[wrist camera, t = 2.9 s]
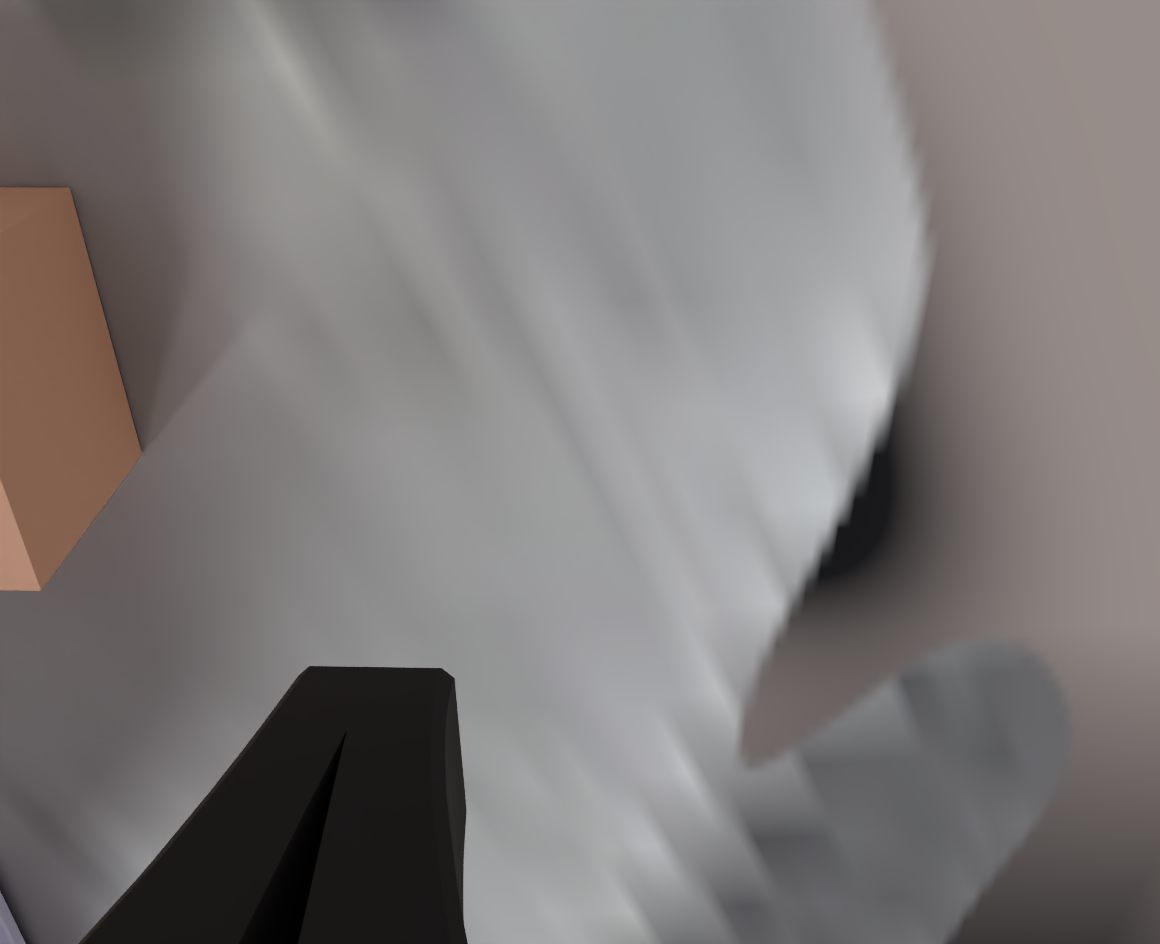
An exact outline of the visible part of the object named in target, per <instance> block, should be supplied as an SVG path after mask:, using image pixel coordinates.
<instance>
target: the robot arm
mask: <svg viewBox="0 0 1160 944" xmlns="http://www.w3.org/2000/svg"><path fill="white" fill-rule="evenodd" d="M465 824H466V800H465V789H464V778H463V767H462V756H461V745H460V735H459V724H458V713H457V702H456V691H455V680H454V678H453V677H452V676H451V675H450V674H448V673H447V672H446V671H444V670H443V669H442V668H391V667H326V666H309V667H308V668H307V669H306V670H304V671H303V672H302V673H301V674H300V675H299V676H298V677H297V679H296V680H295V681H294V683H293V684H292V685H291V687H290V688H289V689H288V691H287V692H286V693H285V695H284V696H283V698H282V699H281V700H280V702H279V703H278V704H277V706H276V707H275V708H274V710H273V711H272V712H271V714H270V715H269V716H268V718H267V719H266V720H265V722H264V723H263V724H262V726H261V727H260V728H259V730H258V731H257V732H256V734H255V735H254V736H253V737H252V739H251V740H250V741H249V743H248V744H247V745H246V747H245V748H244V749H243V751H242V752H241V753H240V754H239V756H238V757H237V758H236V759H235V761H234V762H233V763H232V765H231V766H230V767H229V768H228V770H227V771H226V772H225V773H224V775H223V776H222V777H221V779H220V780H219V781H218V782H217V784H216V785H215V786H214V787H213V789H212V790H211V791H210V792H209V794H208V795H207V796H206V797H205V798H204V800H203V801H202V802H201V803H200V805H199V806H198V807H197V808H196V809H195V811H194V812H193V813H192V814H191V815H190V817H189V818H188V819H187V820H186V821H185V823H184V824H183V825H182V826H181V827H180V829H179V830H178V831H177V832H176V833H175V835H174V836H173V837H172V838H171V840H170V841H169V842H168V843H167V844H166V846H165V847H164V848H163V849H162V850H161V852H160V853H159V854H158V855H157V856H156V858H155V859H154V860H153V861H152V862H151V864H150V865H149V866H148V867H147V868H146V869H145V870H144V872H143V873H142V874H141V875H140V876H139V877H138V879H137V880H136V881H135V882H134V883H133V884H132V885H131V886H130V887H129V889H128V890H127V891H126V892H125V893H124V894H123V895H122V896H121V897H120V899H119V900H118V901H117V902H116V903H115V904H114V905H113V906H112V907H111V908H110V910H109V911H108V912H107V913H106V914H105V915H104V916H103V917H102V918H101V919H100V921H99V922H98V923H97V924H96V925H95V926H94V927H93V928H92V929H91V931H90V932H89V933H88V934H87V935H86V936H85V937H84V938H83V939H82V940H81V942H80V943H79V944H468V943H467V938H466V933H465V928H464V920H463V859H464V839H465ZM0 944H26V943H25V941H24V939H23V937H22V935H21V933H20V931H19V929H18V927H17V925H16V923H15V920H14V918H13V916H12V914H11V912H10V910H9V908H8V906H7V904H6V902H5V900H4V898H3V896H2V894H1V892H0Z"/></svg>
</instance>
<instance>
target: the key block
mask: <svg viewBox="0 0 1160 944" xmlns="http://www.w3.org/2000/svg"><path fill="white" fill-rule="evenodd" d="M141 456H142V452H141V449H140V445H139V441H138V438H137V434H136V430H135V426H134V423H133V419H132V415H131V412H130V408H129V404H128V401H127V397H126V393H125V390H124V386H123V382H122V379H121V375H120V371H119V367H118V364H117V360H116V356H115V353H114V349H113V345H112V342H111V338H110V334H109V331H108V327H107V323H106V320H105V316H104V312H103V308H102V305H101V301H100V297H99V294H98V290H97V286H96V283H95V279H94V275H93V272H92V268H91V264H90V261H89V257H88V253H87V249H86V246H85V242H84V238H83V235H82V231H81V227H80V224H79V220H78V216H77V213H76V209H75V205H74V202H73V198H72V194H71V191H70V188H69V187H0V590H17V591H41V590H42V589H43V588H44V586H45V585H46V584H47V582H48V581H49V579H50V578H51V577H52V575H53V574H54V573H55V571H56V570H57V569H58V567H59V566H60V565H61V563H62V562H63V561H64V559H65V558H66V557H67V555H68V554H69V553H70V551H71V550H72V549H73V547H74V546H75V545H76V543H77V542H78V541H79V539H80V538H81V536H82V535H83V534H84V532H85V531H86V530H87V528H88V527H89V526H90V524H91V523H92V522H93V520H94V519H95V518H96V516H97V515H98V514H99V512H100V511H101V510H102V508H103V507H104V506H105V504H106V503H107V502H108V500H109V499H110V497H111V496H112V495H113V493H114V492H115V491H116V489H117V488H118V487H119V485H120V484H121V483H122V481H123V480H124V479H125V477H126V476H127V475H128V473H129V472H130V471H131V469H132V468H133V467H134V465H135V464H136V463H137V461H138V460H139V459H140V457H141Z"/></svg>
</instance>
